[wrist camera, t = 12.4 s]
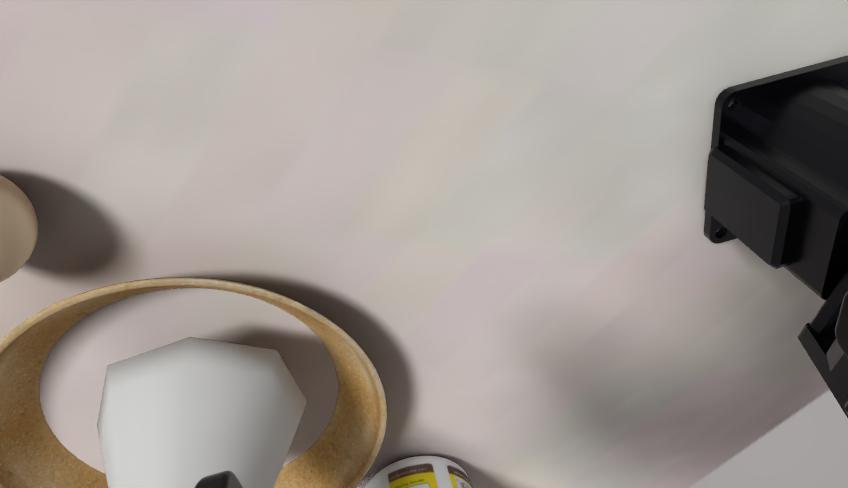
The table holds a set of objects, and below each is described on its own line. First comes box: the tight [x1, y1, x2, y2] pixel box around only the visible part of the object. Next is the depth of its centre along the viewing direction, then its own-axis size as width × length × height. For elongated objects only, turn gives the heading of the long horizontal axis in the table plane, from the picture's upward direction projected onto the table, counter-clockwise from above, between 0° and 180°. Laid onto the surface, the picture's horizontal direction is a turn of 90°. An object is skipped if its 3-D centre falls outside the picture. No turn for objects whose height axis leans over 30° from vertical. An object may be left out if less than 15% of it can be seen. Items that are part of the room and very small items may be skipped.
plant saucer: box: [0, 277, 387, 488], centre depth 24 cm, size 15×15×3 cm
